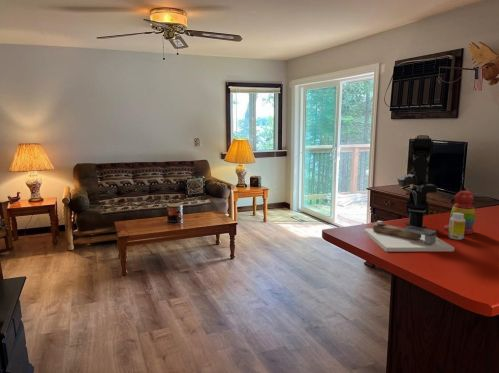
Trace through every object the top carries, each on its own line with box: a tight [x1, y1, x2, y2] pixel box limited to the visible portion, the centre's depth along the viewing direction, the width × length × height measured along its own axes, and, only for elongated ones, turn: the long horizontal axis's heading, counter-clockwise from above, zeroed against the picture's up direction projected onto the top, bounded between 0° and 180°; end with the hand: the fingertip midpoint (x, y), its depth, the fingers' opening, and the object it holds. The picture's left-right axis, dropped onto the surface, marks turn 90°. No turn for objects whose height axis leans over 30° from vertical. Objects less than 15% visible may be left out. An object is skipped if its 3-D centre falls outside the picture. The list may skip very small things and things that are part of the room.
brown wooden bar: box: [372, 222, 421, 240], centre depth 147 cm, size 18×5×2 cm, turn 45°
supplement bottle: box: [447, 212, 465, 240], centre depth 149 cm, size 6×6×10 cm
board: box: [363, 220, 455, 252], centre depth 145 cm, size 24×25×6 cm
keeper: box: [403, 225, 438, 246], centre depth 140 cm, size 10×5×5 cm, turn 41°
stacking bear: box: [443, 190, 476, 235], centre depth 158 cm, size 11×10×18 cm
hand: (417, 205), depth 153 cm, fingers closed
